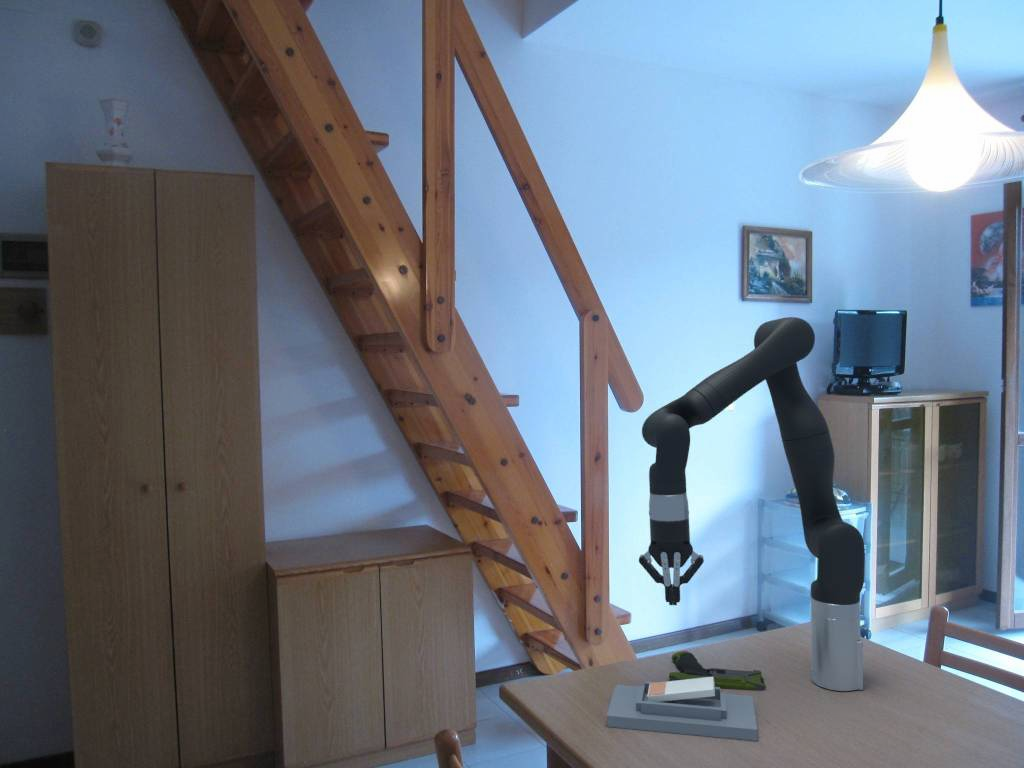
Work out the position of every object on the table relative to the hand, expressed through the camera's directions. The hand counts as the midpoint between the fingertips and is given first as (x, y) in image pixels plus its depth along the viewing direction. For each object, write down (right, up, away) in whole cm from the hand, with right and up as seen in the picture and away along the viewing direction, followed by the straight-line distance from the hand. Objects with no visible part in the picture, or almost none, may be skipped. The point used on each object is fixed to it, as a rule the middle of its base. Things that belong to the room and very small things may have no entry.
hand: (672, 604), depth 151 cm
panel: (0, -19, -7) cm, 20 cm away
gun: (+11, -19, +12) cm, 25 cm away
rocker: (0, -14, -7) cm, 16 cm away
